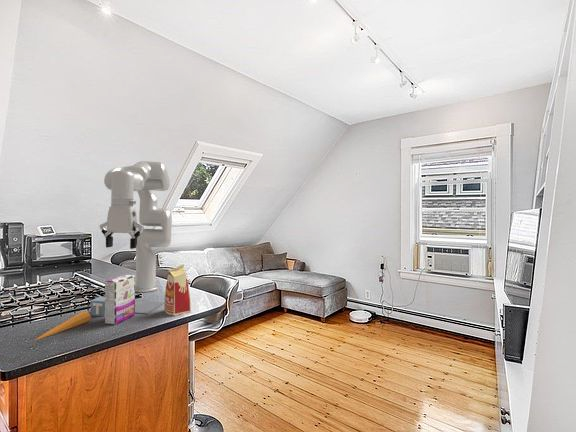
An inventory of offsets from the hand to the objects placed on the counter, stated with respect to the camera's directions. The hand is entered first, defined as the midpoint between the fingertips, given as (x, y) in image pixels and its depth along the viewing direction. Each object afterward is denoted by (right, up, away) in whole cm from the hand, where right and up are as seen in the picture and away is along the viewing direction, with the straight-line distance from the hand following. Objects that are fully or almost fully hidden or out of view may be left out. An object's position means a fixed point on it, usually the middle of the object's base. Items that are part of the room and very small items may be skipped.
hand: (121, 247), depth 124 cm
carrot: (-15, -28, -11) cm, 34 cm away
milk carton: (+17, -29, +13) cm, 36 cm away
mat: (+2, -28, +16) cm, 32 cm away
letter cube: (-11, -28, +7) cm, 31 cm away
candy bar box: (-1, -28, +1) cm, 28 cm away
